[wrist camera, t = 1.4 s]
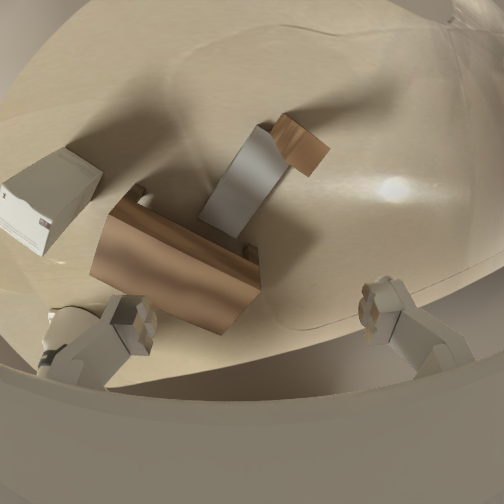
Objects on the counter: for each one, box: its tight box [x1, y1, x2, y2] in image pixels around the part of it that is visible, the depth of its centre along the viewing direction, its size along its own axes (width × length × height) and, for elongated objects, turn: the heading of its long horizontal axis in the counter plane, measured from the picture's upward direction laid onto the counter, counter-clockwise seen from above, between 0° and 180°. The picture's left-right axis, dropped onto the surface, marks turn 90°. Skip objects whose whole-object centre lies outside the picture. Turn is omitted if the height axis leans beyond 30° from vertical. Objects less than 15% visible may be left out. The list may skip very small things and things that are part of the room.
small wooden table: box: [89, 184, 261, 335], centre depth 38 cm, size 10×20×10 cm, turn 57°
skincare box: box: [0, 147, 103, 257], centre depth 29 cm, size 8×6×15 cm
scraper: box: [198, 114, 330, 238], centre depth 31 cm, size 18×6×14 cm, turn 147°
